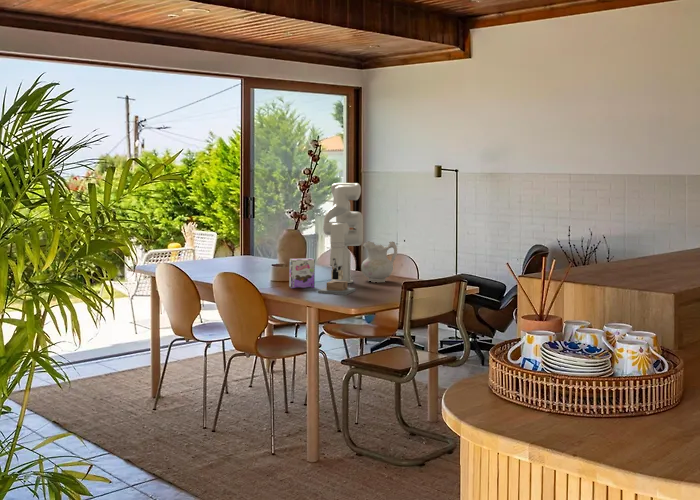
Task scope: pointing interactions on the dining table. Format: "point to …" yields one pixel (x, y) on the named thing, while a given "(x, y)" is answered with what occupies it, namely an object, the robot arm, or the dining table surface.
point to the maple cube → (340, 275)
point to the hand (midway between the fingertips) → (337, 278)
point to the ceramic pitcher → (378, 262)
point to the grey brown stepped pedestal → (337, 288)
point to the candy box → (302, 273)
